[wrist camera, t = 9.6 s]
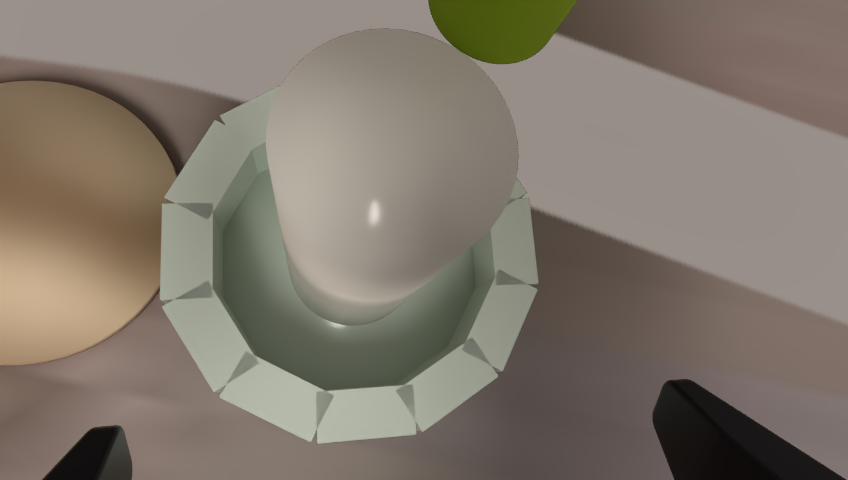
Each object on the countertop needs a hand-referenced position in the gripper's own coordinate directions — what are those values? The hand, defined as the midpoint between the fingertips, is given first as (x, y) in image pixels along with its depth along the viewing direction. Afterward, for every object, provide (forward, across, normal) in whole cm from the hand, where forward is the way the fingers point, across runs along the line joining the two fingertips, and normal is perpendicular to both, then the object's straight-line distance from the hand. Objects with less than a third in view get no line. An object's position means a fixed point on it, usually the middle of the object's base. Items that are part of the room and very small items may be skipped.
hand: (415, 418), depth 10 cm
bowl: (+12, 0, +5) cm, 13 cm away
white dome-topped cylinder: (+12, 0, +5) cm, 12 cm away
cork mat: (+14, +11, +4) cm, 18 cm away
